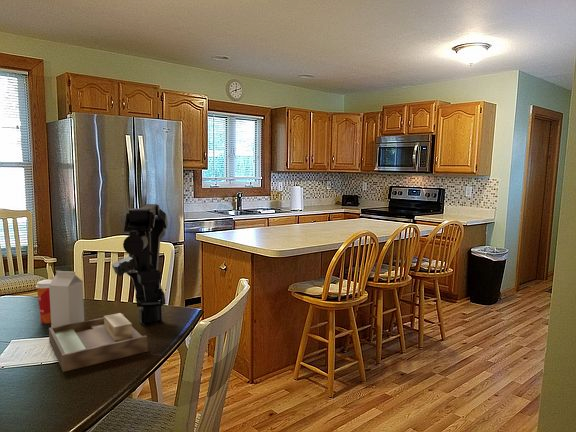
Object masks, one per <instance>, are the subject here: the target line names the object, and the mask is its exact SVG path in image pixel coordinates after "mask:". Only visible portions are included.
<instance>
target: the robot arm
mask: <svg viewBox="0 0 576 432" xmlns="http://www.w3.org/2000/svg"><path fill="white" fill-rule="evenodd" d="M166 229H168V217H167V214H166V213H165V212H164V211H163V210H162V209H161V207H160V205H159V204H158V203H157V204H156V203H146V204H143V206H142V207H139V208H133V207H132V208H131V207H130V208H129V209H128V211H126V215H125V221H124V228H123V231H124V232H125V233H129V235H128V236H127V237H125V239H124V240H123V243H122V248H123V250H124V251H125V252H126V253H127V254H128V256H126V257H124V258H122V259H120V260H118V261H116V262H113V263H112V264H111V267H112V269H113V271H114V273H115V275H117V277H120V276H123V275H125V274H127V276H129V277H130V278H131V280H132V284H133V287H134V290H135V303H136V308H140V309H139V310H138V312H139V313H138V315H139V317H138V318H139V320H138V321H139V322H140V323H141V324H142V325H143V326H144V327H149V326H154V325H158V324H163V323H164V320H163V319H162V318H163V317H162V315H163V314H162V312H163V311H162V307H163V306H165V305H166V296H165V292H164V289H163V288H162V284H161V282H160V281H161V280H162V277H163V276H162V271H160V270H159V263H160V262H159V261H160V248H161V240H162V239H163V238H164V237H165V235H166V231H167V230H166Z"/></svg>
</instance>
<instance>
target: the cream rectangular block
mask: <svg viewBox="0 0 576 432" xmlns="http://www.w3.org/2000/svg"><path fill="white" fill-rule="evenodd" d="M122 314H123V313H121V312H118V313H114V314H113V313H112V314H107V315H103V318H104V329H105V330H106V331H107V332H108V333H109V334H110V336H111V337H112V338H113V339H114V340H120V339H124V338H129V337H132V327H133V326H132V325H133V323H132V322H131V321H130V320H128V319H127V318H126V317H125V315H124V316H123V315H122Z"/></svg>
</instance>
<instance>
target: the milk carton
mask: <svg viewBox="0 0 576 432" xmlns="http://www.w3.org/2000/svg"><path fill="white" fill-rule="evenodd" d="M55 272H56V273H55V275H54V277H53V278H52V279H53V280H52V281H51V283H50V284H49V292H50V310H51V323H50V326H51V327H56V326H62V325H67V324H72V323H78V322H83V321H85V308H84V307H85V304H84V285H83V283H84V281H83V280H82V279H81V278H80V277H78V276H77V275H76V271H68V270H66V271H65V270H64V271H63V270H55ZM51 327H50V328H51Z"/></svg>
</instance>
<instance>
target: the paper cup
mask: <svg viewBox="0 0 576 432" xmlns="http://www.w3.org/2000/svg"><path fill="white" fill-rule="evenodd" d="M52 280H53V278H52V279H51V278H50V279H43V280H39V281H37V282H36V285H35V288H36V292H37V298H38V299H37V300H38V308H39V316H40V322H41V323H42V324H51V310H50V292H49V284H50V283H51V281H52Z"/></svg>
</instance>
